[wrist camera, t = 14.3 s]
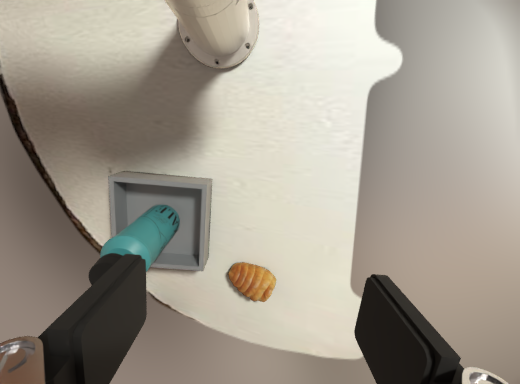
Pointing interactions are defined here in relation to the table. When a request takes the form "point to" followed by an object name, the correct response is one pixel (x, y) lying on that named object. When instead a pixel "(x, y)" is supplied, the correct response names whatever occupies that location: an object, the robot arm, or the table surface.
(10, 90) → the table surface
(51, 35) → the table surface
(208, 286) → the table surface
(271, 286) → the pastry
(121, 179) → the bin
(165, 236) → the beverage bottle
